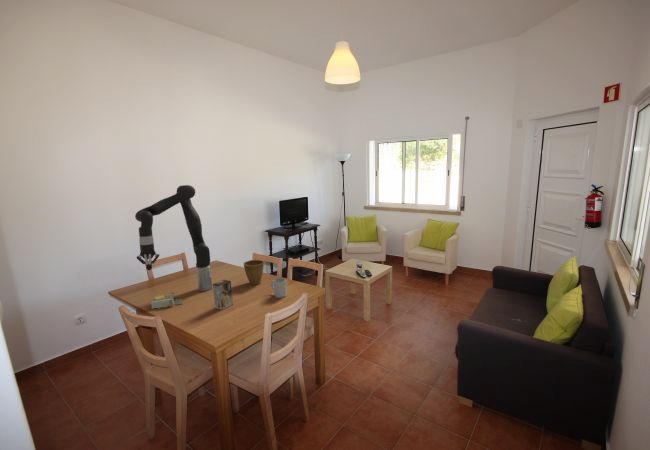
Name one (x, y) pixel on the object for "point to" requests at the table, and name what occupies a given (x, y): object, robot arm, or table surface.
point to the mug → (279, 287)
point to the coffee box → (222, 294)
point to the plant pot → (254, 271)
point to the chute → (166, 301)
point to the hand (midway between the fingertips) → (149, 269)
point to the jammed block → (160, 297)
